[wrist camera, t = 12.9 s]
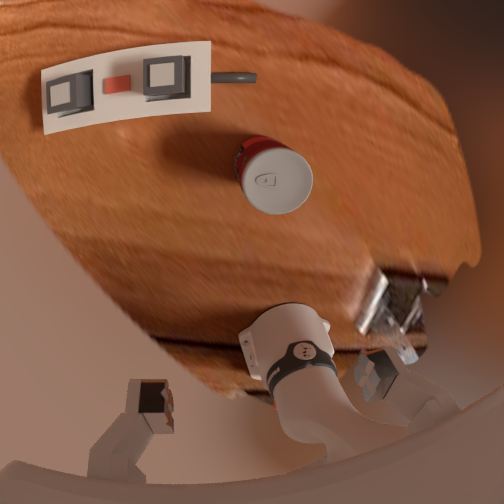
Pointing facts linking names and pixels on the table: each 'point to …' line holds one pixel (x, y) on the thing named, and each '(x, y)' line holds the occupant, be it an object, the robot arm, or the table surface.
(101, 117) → the pdu strip
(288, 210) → the canned food
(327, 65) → the table surface
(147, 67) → the plug
